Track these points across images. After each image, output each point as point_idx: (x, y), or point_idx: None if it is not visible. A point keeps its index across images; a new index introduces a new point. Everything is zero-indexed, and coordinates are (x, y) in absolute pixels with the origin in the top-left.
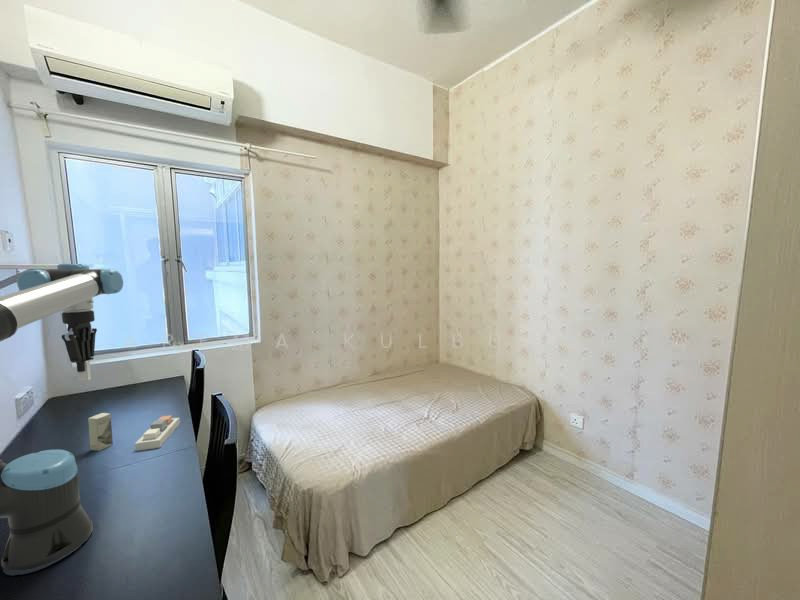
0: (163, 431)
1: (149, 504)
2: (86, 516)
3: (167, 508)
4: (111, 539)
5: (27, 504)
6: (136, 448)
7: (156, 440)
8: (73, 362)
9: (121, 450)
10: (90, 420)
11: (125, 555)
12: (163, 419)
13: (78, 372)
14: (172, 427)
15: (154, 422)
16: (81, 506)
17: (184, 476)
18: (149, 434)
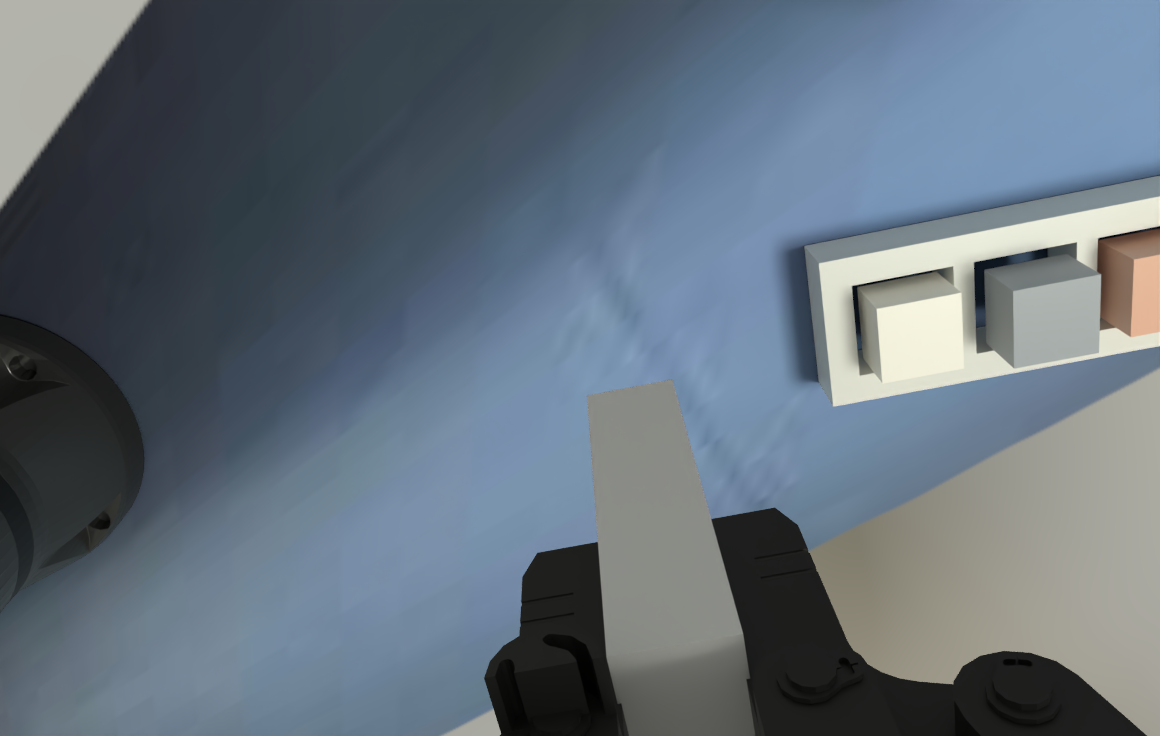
0: (975, 355)
1: (282, 636)
2: (55, 571)
3: (261, 714)
4: (82, 624)
5: None
6: (810, 257)
7: (833, 389)
8: (517, 666)
9: (835, 132)
10: None
11: (25, 714)
12: (1141, 299)
13: (595, 505)
14: None
15: (1057, 295)
16: (42, 569)
17: (484, 668)
18: (877, 345)
